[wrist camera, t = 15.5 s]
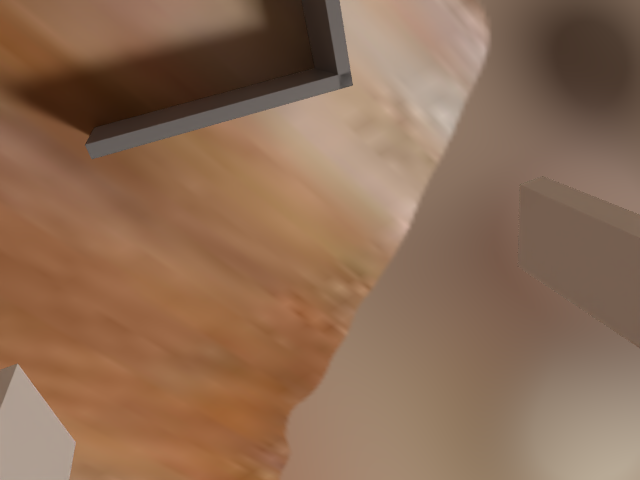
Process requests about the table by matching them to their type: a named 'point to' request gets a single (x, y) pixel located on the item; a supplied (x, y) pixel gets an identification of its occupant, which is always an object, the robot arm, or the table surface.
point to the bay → (242, 90)
